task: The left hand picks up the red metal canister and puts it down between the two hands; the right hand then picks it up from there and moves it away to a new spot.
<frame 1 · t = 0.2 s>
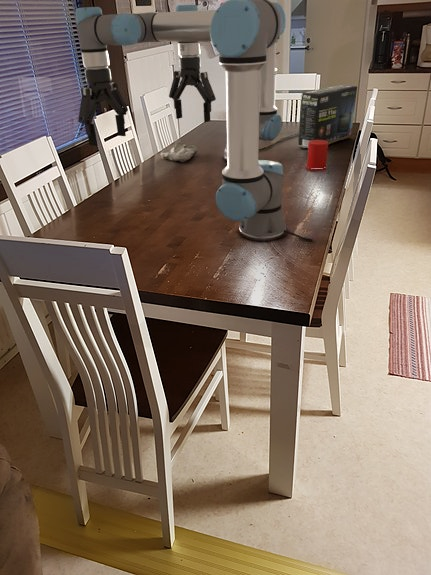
left hand: (193, 119, 171), 28 cm above the table, tool pointing down, fingers open, 13 cm apart
right hand: (108, 140, 148), 28 cm above the table, tool pointing down, fingers open, 13 cm apart
router box: (325, 143, 245), on the table
fossil: (178, 158, 230), on the table
canister: (316, 168, 207), on the table
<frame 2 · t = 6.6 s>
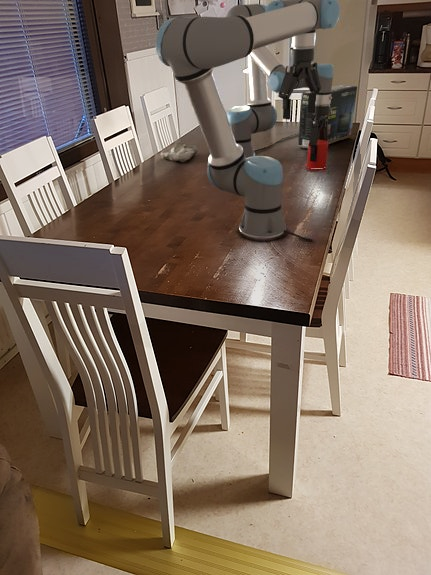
left hand: (317, 158, 204), 5 cm above the table, tool pointing down, fingers closed on canister, 8 cm apart
right hand: (299, 115, 161), 30 cm above the table, tool pointing down, fingers open, 13 cm apart
canister: (316, 168, 207), on the table, touching left hand
everything else where it was.
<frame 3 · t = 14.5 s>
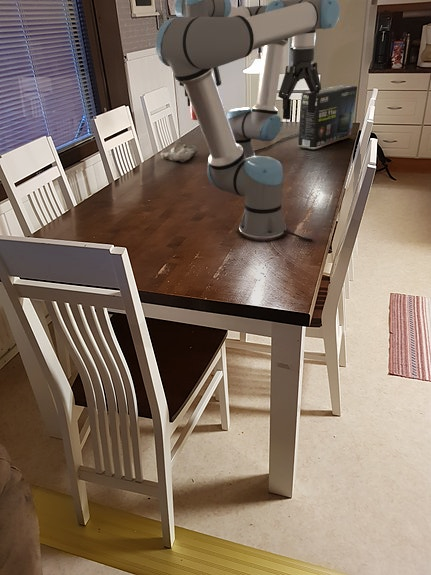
left hand: (201, 105, 176), 32 cm above the table, tool pointing down, fingers closed on canister, 8 cm apart
right hand: (299, 115, 161), 30 cm above the table, tool pointing down, fingers open, 13 cm apart
canister: (201, 118, 178), point 27 cm above the table, touching left hand
everything else where it was.
when the left hand's fingers open (6 cm above the table, at t = 22.4 s): canister drops 1 cm, on the table.
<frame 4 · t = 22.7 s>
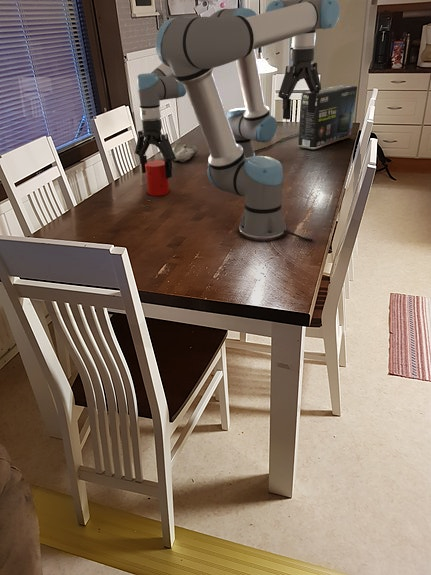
left hand: (156, 174, 183), 7 cm above the table, tool pointing down, fingers open, 12 cm apart
right hand: (299, 115, 161), 30 cm above the table, tool pointing down, fingers open, 13 cm apart
canister: (158, 192, 187), on the table
everything else where it was.
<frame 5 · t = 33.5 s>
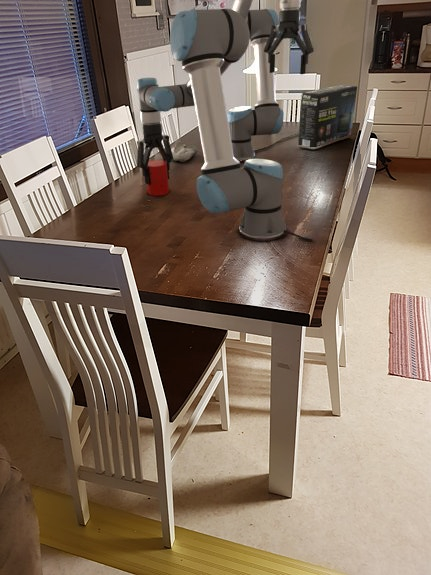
left hand: (287, 73, 178), 41 cm above the table, tool pointing down, fingers open, 13 cm apart
right hand: (157, 181, 185), 5 cm above the table, tool pointing down, fingers closed on canister, 8 cm apart
canister: (158, 192, 187), on the table, touching right hand
everything else where it was.
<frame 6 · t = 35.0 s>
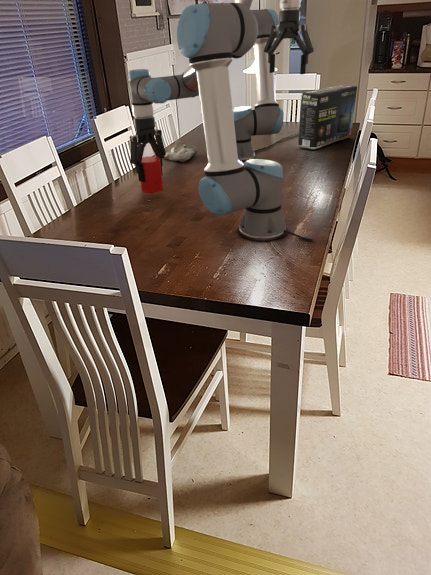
left hand: (287, 73, 178), 41 cm above the table, tool pointing down, fingers open, 13 cm apart
right hand: (150, 178, 177), 8 cm above the table, tool pointing down, fingers closed on canister, 8 cm apart
canister: (152, 189, 179), point 4 cm above the table, touching right hand
everything else where it was.
when the right hand's fingers open (6 cm above the table, at t = 37.0 s): canister drops 1 cm, on the table.
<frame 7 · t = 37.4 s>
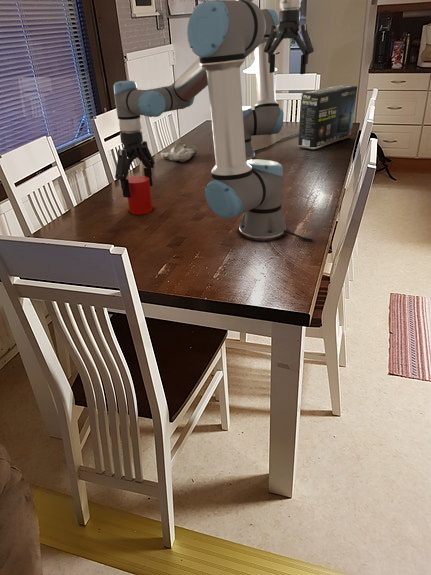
left hand: (287, 73, 178), 41 cm above the table, tool pointing down, fingers open, 13 cm apart
right hand: (138, 191, 167), 7 cm above the table, tool pointing down, fingers open, 13 cm apart
canister: (141, 210, 170), on the table
everything else where it was.
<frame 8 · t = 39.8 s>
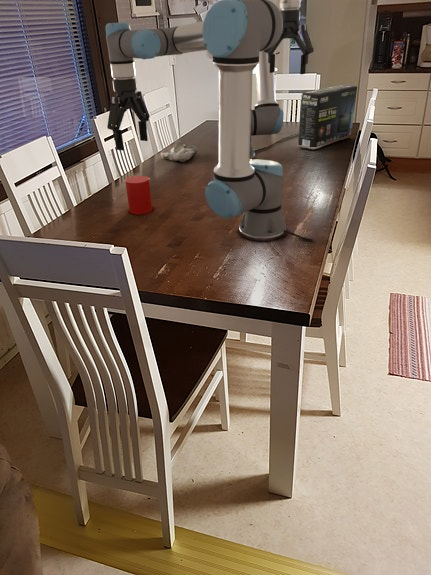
left hand: (287, 73, 178), 41 cm above the table, tool pointing down, fingers open, 13 cm apart
right hand: (132, 145, 158), 24 cm above the table, tool pointing down, fingers open, 13 cm apart
nothing on the table moved.
at the end: canister inside the target area (0.1 cm from its centre), on the table; canister tilted 0°; the two hands never held the canister at the same time; the left hand is holding nothing; the right hand is holding nothing; canister at rest at the end (0.0 cm/s) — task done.
